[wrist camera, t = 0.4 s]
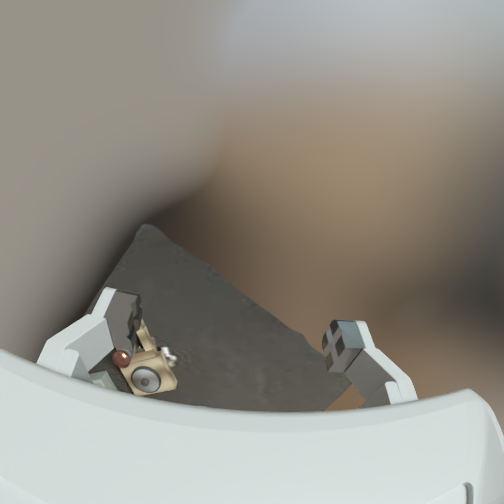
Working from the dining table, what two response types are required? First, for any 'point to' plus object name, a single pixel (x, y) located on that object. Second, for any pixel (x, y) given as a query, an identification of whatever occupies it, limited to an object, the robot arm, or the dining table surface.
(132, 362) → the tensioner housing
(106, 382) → the tray
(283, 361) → the dining table surface
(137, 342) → the lock pin
